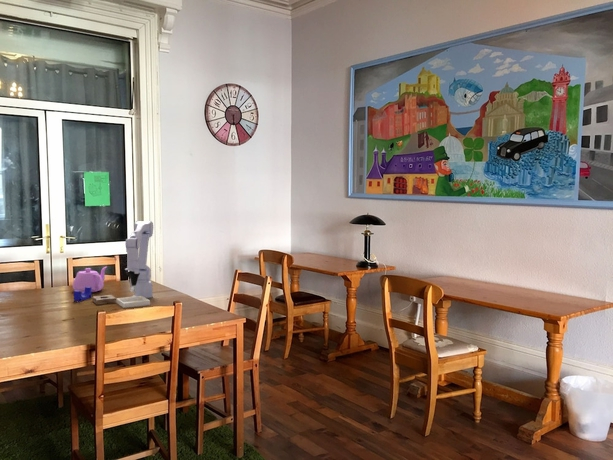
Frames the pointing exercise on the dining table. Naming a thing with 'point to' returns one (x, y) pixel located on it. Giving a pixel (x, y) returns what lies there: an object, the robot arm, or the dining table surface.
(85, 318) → the dining table surface
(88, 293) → the cable clip
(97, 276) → the teapot
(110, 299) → the square hole board
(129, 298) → the tray
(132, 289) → the steel pin
